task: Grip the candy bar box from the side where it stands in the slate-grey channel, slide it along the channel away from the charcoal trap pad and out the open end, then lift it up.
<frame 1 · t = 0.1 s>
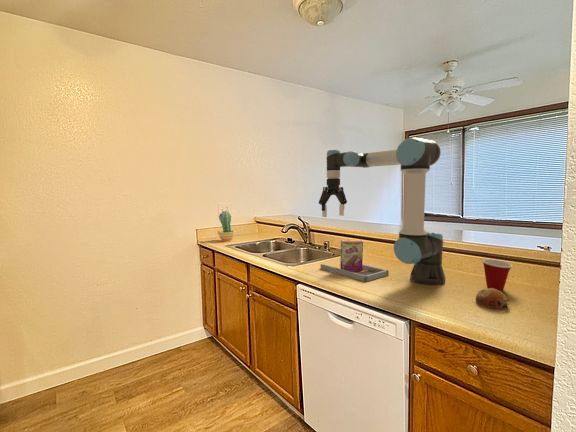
hand: (333, 216, 175), 28 cm above the worktop, tool pointing down, fingers open, 13 cm apart
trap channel: (352, 271, 162), on the worktop
potted cactus: (226, 241, 259), on the worktop
plastic cup: (495, 289, 133), on the worktop
candy bar box: (351, 271, 163), resting in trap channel
bread roll: (492, 306, 116), on the worktop
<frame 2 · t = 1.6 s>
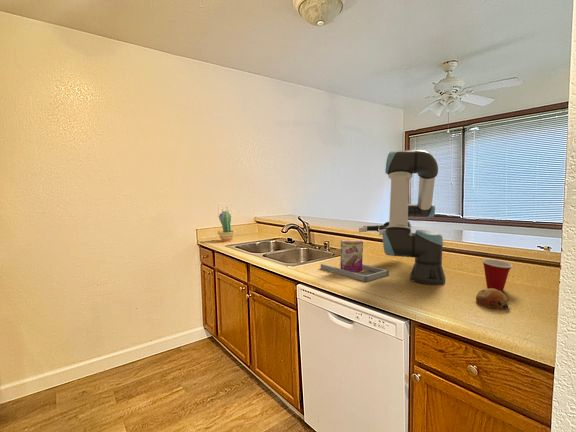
hand: (369, 231, 170), 20 cm above the worktop, tool horizontal, fingers open, 13 cm apart
nothing on the worktop moved.
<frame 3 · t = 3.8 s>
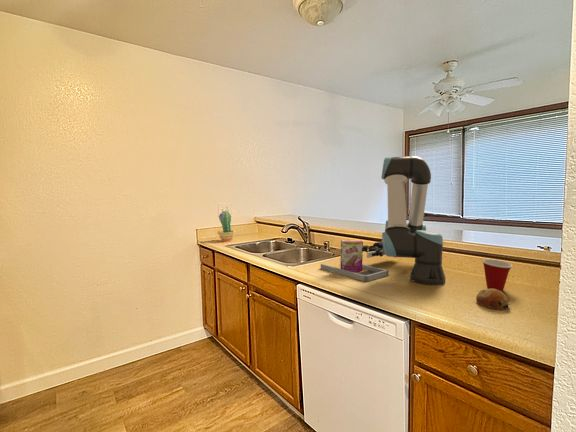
hand: (356, 253, 166), 9 cm above the worktop, tool horizontal, fingers open, 13 cm apart
nothing on the worktop moved.
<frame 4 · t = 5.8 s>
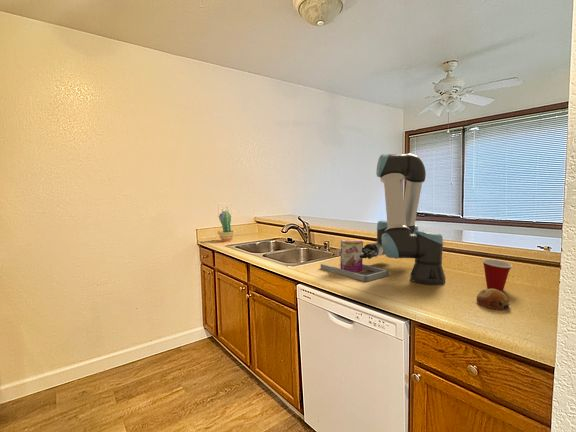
hand: (346, 255, 160), 9 cm above the worktop, tool horizontal, fingers closed on candy bar box, 11 cm apart
candy bar box: (351, 271, 163), resting in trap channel, touching gripper
everything else where it was.
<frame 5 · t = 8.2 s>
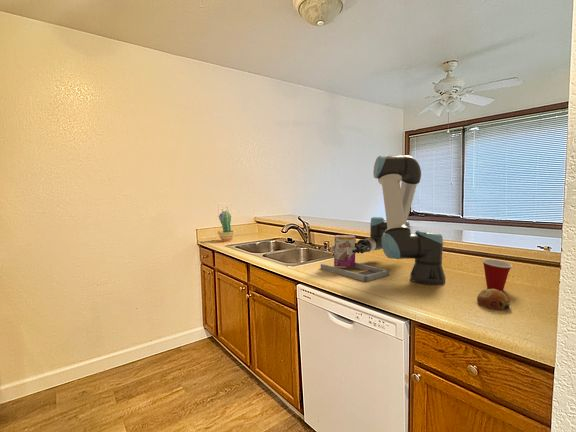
hand: (339, 250, 165), 11 cm above the worktop, tool horizontal, fingers closed on candy bar box, 11 cm apart
candy bar box: (344, 266, 169), point 1 cm above the worktop, touching gripper
everything else where it was.
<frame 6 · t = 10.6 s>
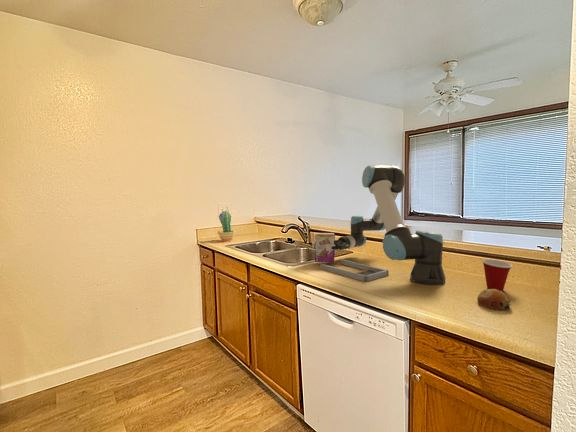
hand: (319, 246, 175), 11 cm above the worktop, tool horizontal, fingers closed on candy bar box, 11 cm apart
candy bar box: (324, 261, 179), point 1 cm above the worktop, touching gripper
everything else where it was.
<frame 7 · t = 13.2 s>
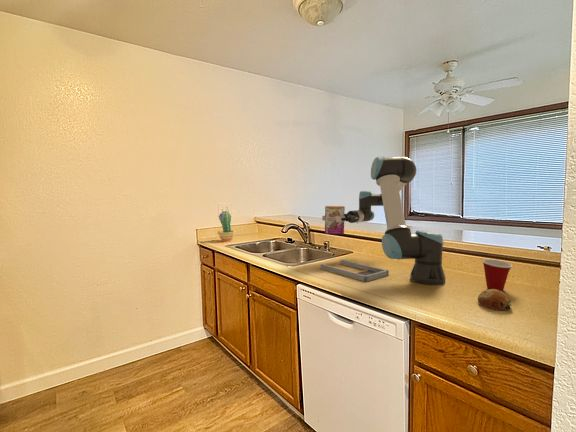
hand: (329, 218, 179), 26 cm above the worktop, tool horizontal, fingers closed on candy bar box, 11 cm apart
candy bar box: (334, 234, 182), point 17 cm above the worktop, touching gripper
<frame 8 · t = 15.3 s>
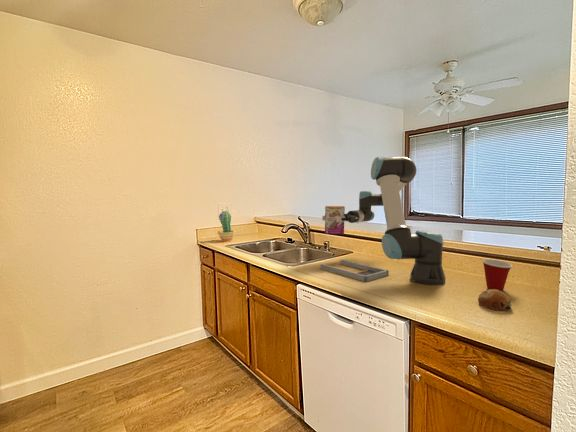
hand: (329, 218, 179), 26 cm above the worktop, tool horizontal, fingers closed on candy bar box, 11 cm apart
candy bar box: (334, 234, 182), point 17 cm above the worktop, touching gripper
at the end: candy bar box inside the target area (3.2 cm from its centre), point 16.7 cm above the worktop; the gripper is holding candy bar box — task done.
